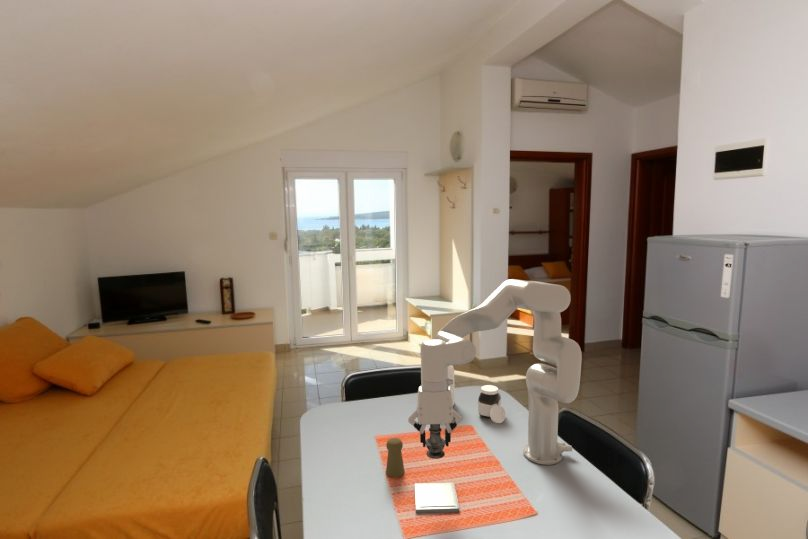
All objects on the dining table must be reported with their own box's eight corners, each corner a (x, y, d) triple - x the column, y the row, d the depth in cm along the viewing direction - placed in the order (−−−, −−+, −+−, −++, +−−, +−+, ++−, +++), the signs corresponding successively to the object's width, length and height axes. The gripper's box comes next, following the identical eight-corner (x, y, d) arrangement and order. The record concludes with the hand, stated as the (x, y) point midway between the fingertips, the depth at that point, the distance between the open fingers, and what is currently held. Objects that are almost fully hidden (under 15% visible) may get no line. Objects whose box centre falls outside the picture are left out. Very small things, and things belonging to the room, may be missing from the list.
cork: (390, 479, 140) (390, 446, 139) (382, 470, 145) (381, 438, 144) (407, 474, 143) (407, 441, 141) (399, 465, 148) (398, 433, 147)
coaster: (454, 485, 136) (454, 482, 136) (459, 511, 124) (459, 507, 124) (414, 486, 136) (414, 483, 136) (416, 512, 124) (415, 509, 124)
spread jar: (486, 408, 189) (486, 382, 188) (511, 415, 182) (512, 388, 181) (473, 419, 179) (473, 391, 178) (499, 427, 173) (499, 398, 171)
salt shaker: (444, 460, 125) (444, 419, 123) (423, 458, 126) (423, 417, 125) (446, 449, 131) (446, 410, 129) (427, 447, 132) (426, 408, 130)
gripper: (463, 378, 130) (463, 437, 132) (403, 379, 130) (405, 438, 132) (467, 388, 122) (467, 450, 124) (404, 389, 122) (405, 452, 124)
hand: (435, 443), depth 128 cm, fingers closed on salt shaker, 5 cm apart
